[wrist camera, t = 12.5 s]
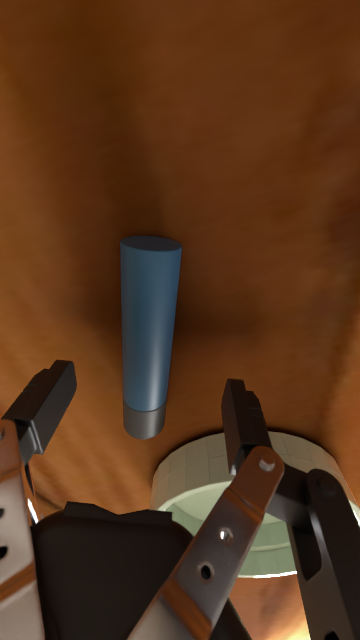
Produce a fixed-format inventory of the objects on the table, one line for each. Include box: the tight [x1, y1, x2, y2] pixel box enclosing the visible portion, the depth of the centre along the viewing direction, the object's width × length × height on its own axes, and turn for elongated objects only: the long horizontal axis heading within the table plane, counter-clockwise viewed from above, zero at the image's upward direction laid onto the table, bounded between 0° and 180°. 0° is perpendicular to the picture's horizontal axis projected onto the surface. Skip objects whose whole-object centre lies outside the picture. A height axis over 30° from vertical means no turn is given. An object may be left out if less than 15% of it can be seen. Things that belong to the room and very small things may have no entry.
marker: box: [120, 236, 182, 439], centre depth 17 cm, size 14×3×3 cm, turn 174°
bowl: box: [149, 431, 360, 577], centre depth 25 cm, size 19×19×4 cm
